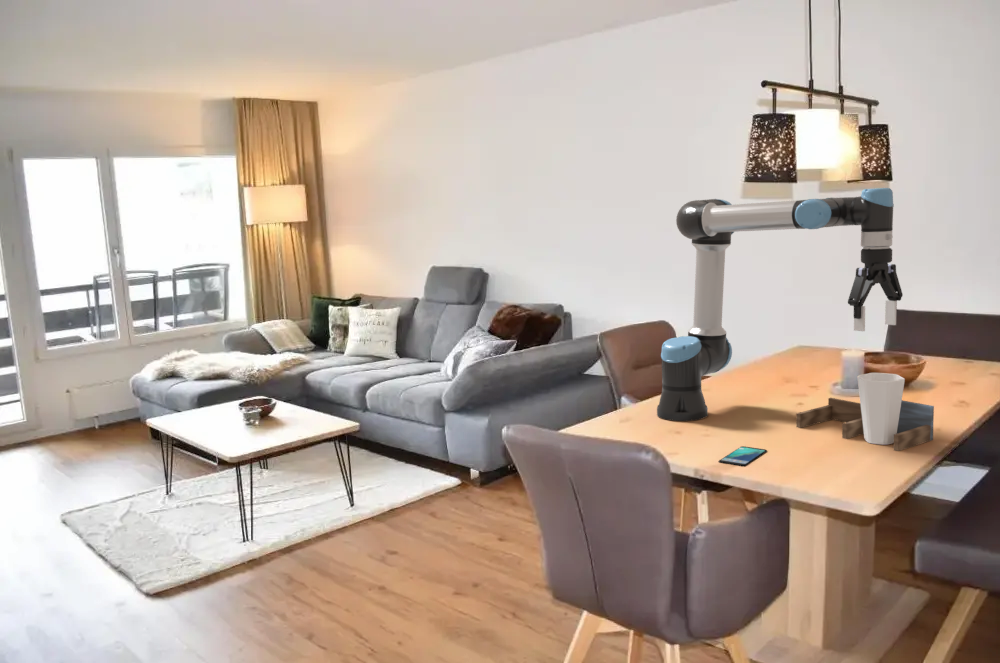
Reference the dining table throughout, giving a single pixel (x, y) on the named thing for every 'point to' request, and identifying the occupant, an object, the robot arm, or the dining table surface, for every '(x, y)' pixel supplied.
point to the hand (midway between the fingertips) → (875, 327)
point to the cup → (880, 405)
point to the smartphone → (743, 456)
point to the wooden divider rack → (911, 424)
